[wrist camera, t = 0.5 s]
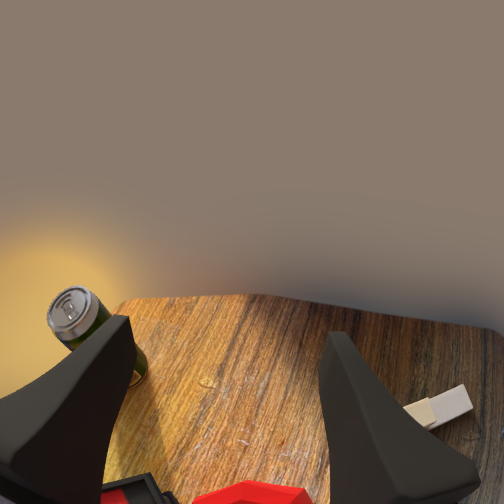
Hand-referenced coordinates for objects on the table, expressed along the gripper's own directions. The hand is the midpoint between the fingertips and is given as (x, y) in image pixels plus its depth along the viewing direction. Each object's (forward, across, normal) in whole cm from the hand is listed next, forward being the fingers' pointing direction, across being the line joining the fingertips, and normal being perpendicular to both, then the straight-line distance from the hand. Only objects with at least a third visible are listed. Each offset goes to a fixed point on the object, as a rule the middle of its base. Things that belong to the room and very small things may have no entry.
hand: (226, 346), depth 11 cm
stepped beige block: (+5, -17, +15) cm, 23 cm away
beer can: (+13, +12, +20) cm, 27 cm away
